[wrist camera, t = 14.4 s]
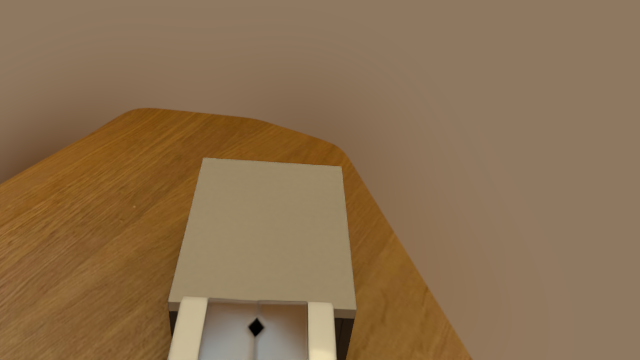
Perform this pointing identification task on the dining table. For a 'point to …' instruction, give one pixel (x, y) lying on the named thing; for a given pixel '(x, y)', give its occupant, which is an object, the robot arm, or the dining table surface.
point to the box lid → (267, 236)
